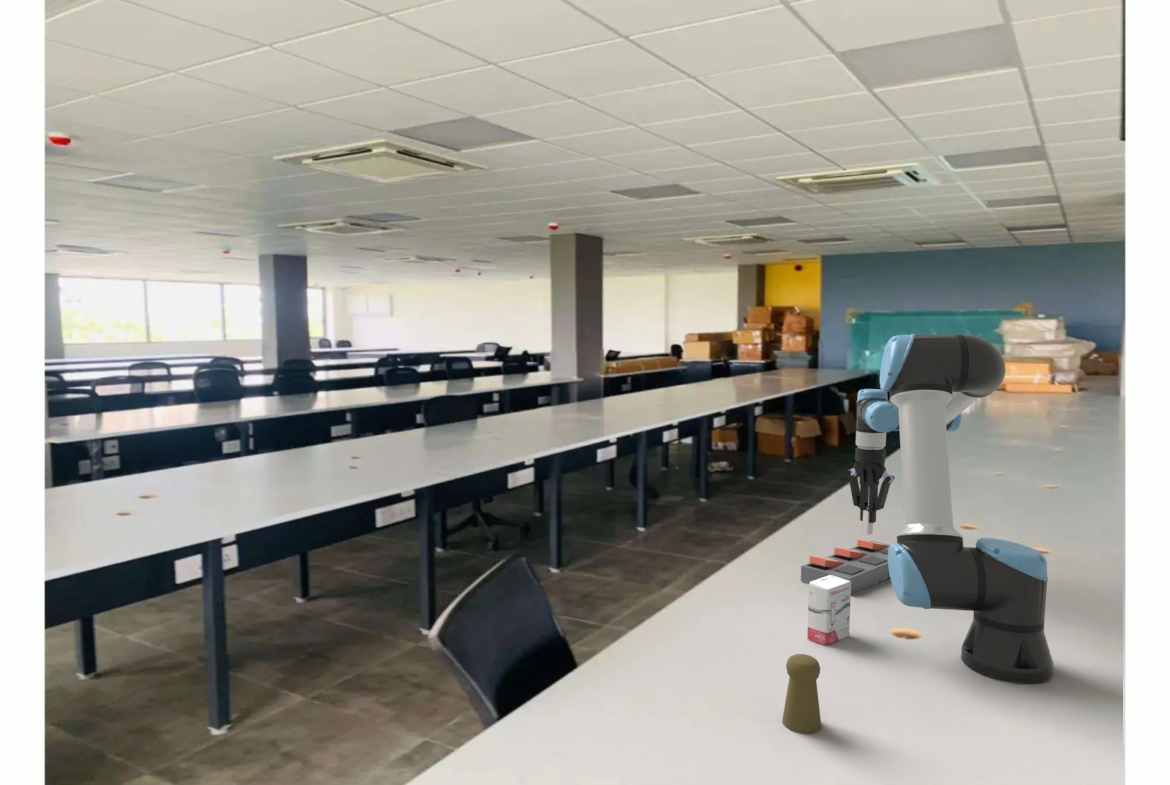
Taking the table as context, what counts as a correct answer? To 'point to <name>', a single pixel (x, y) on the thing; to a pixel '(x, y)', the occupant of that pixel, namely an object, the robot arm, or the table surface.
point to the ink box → (828, 609)
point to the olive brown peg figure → (802, 695)
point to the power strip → (853, 568)
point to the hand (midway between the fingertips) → (867, 533)
